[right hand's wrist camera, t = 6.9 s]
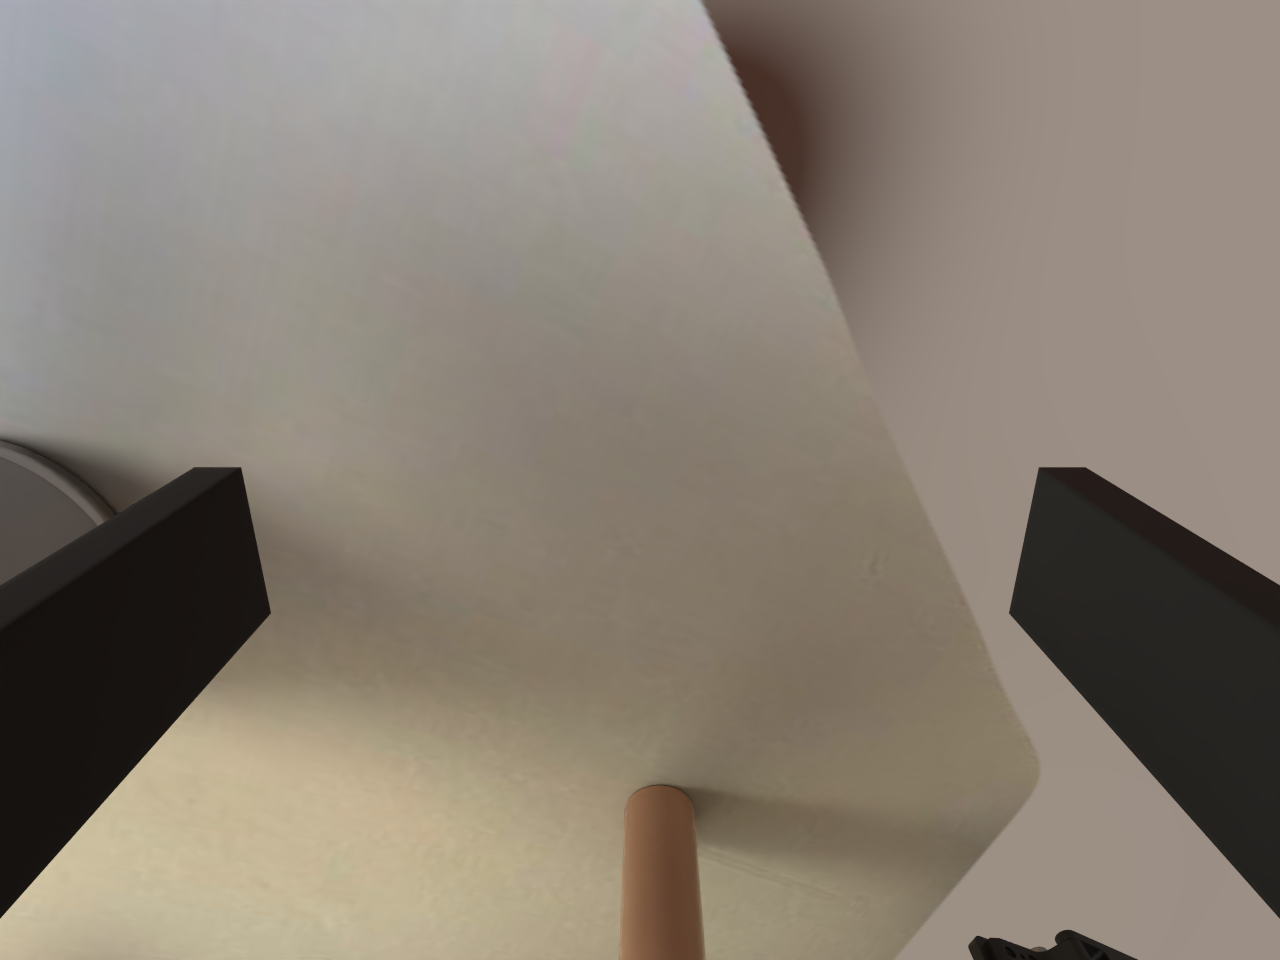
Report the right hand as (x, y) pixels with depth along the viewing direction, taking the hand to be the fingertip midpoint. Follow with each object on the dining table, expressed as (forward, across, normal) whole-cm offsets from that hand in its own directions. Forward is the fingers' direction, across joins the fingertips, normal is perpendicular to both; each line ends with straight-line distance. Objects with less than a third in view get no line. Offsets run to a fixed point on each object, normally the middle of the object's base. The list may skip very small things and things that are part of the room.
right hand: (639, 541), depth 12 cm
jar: (+24, -1, +30) cm, 38 cm away
